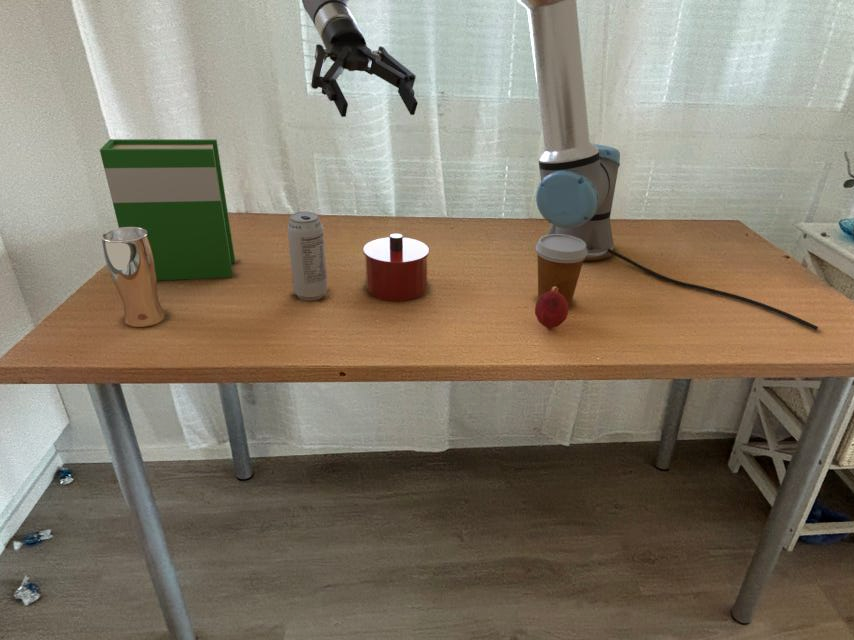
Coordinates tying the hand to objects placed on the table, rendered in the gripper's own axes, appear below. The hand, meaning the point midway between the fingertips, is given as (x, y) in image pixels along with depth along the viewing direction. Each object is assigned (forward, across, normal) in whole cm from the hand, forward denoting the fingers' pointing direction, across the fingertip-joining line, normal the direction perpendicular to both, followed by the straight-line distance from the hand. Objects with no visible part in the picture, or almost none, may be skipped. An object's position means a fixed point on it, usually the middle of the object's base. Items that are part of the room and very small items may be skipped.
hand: (380, 109), depth 116 cm
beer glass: (+19, +44, -26) cm, 55 cm away
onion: (+47, -16, -9) cm, 50 cm away
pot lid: (+20, +2, -15) cm, 25 cm away
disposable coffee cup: (+40, -23, -12) cm, 48 cm away
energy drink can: (+21, +17, -24) cm, 36 cm away
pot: (+24, +1, -22) cm, 32 cm away
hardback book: (+4, +35, -34) cm, 49 cm away
